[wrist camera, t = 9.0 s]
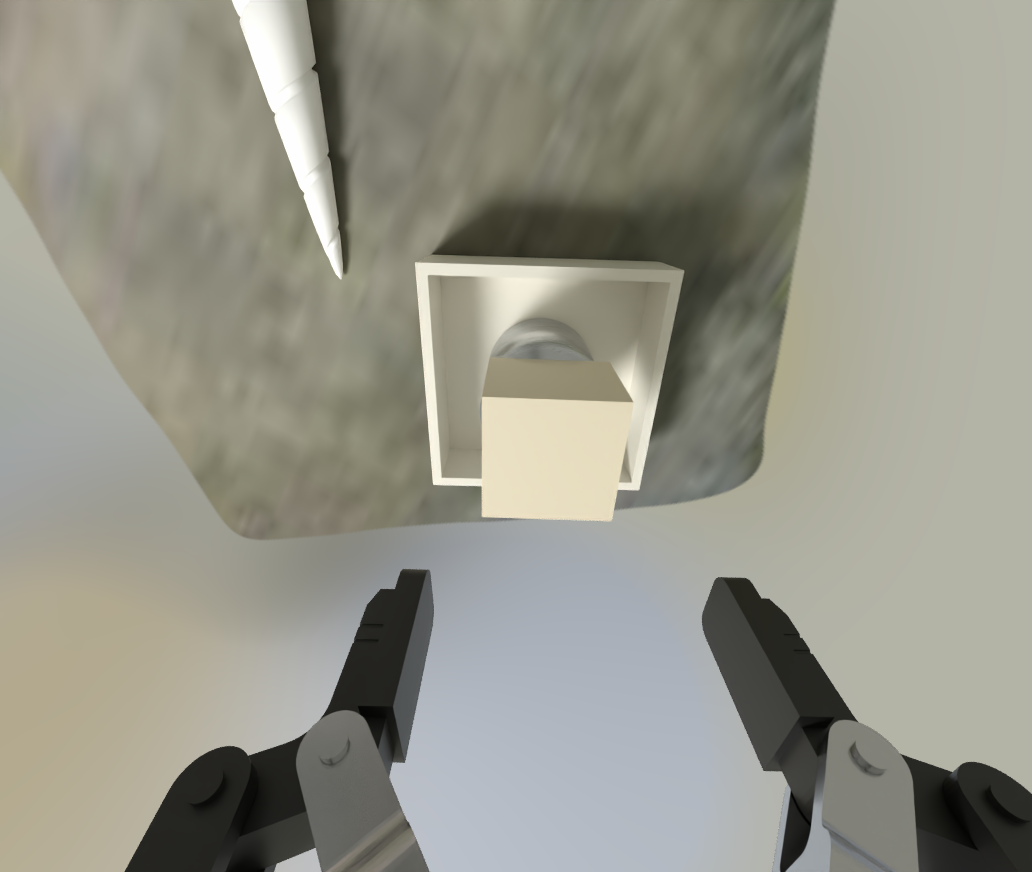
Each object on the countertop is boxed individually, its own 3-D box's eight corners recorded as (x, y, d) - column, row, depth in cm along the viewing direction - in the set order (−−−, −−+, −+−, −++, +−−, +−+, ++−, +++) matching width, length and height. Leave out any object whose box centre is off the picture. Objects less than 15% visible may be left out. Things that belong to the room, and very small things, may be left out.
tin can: (488, 316, 27) (479, 347, 20) (597, 319, 27) (620, 352, 20) (488, 414, 30) (480, 467, 24) (585, 417, 30) (602, 470, 24)
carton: (489, 357, 21) (481, 396, 16) (609, 362, 21) (634, 402, 16) (488, 459, 24) (481, 516, 19) (594, 463, 24) (611, 521, 19)
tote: (431, 254, 25) (415, 262, 21) (658, 261, 26) (684, 270, 22) (443, 451, 32) (433, 484, 28) (624, 455, 32) (638, 490, 28)
